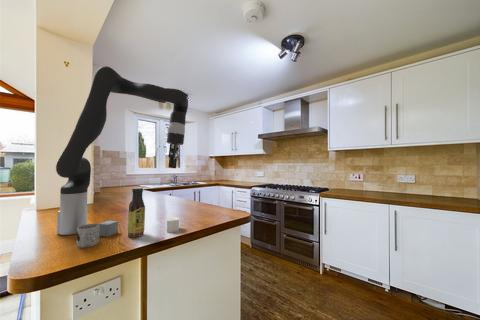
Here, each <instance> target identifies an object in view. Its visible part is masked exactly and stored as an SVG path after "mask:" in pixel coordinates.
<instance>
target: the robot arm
mask: <svg viewBox="0 0 480 320" xmlns="http://www.w3.org/2000/svg"><path fill="white" fill-rule="evenodd" d="M112 93H113V94H114V93H115V94H120V95H121V94H122V95H128V96H135V97H138V98H144V99H147V100H150V101H154V102H156V103H157V102H158V103H162V104H165V103H170V104H173V105H172V111H171V113H170V115H169V122H168V123H169V124H168V130H167V134H166V135H167V137H166V143H167V144H169V147H168V148H169V150H168V168H170V169H177V162H178V160H179V154H180V153H179V152H180V148H179V146H183V145H184V143H185V136H186V135H185V133H186V116H187V113H188V110H189V109H188V108H189V99H188V97H187V94H186V93H185V92H184V91H183V90H182V89H178V88H171V87H170V88H169V87H167V88H165V87H163V86H159V85H155V84H151V83H141V82H135V81H132V80H129V79H127V78H124V77H122V76H121V75H120V74H119V72H117V71H116V70H115V69H113V68H112V67H110V66H106V65H105V66H102V67H99V68H98V69H97V70H96V71H95V74H94V77H93V79H92V84H91V87H90V91H89V93H88V96H87V98H86V101H85V104H84V106H83V108H82V111H81V113H80V114H79V118H78V119H77V122H76V125H75V127H74V130H73V132H72V134H71V135H70V138H69V140H68V142H67V145H65V146H66V147H65V148H64V150H63V152H62V153H61V154H60V157H59V158H58V161H57V163H56V165H55V171H56V174H57V175H58V176H59V177H61V178H65V179H67V182H65V184H64V185H62V186H61V187H60V190H59V191H60V197H59V210H58V211H57V213H56V215H57V217H56V220H57V221H56V234H57V235H61V236H68V235H75V234H76V235H77V228H78V227H79V226H82V225H86V224H88V189H89V187H90V184H91V175H92V173H91V172H92V167H91V166H92V165H91V163H90V161H89V160H88V158H86V157H84V154H85V153H86V151H87V149H88V148H89V146H91V145H92V144H93V142H95V141H96V140H97V139H98V137H99V136H101V134H102V132H103V130H104V127H105V124H106V122H107V115H108V113H107V111H108V110H107V104H108V99H109V96H110V94H112Z"/></svg>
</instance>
